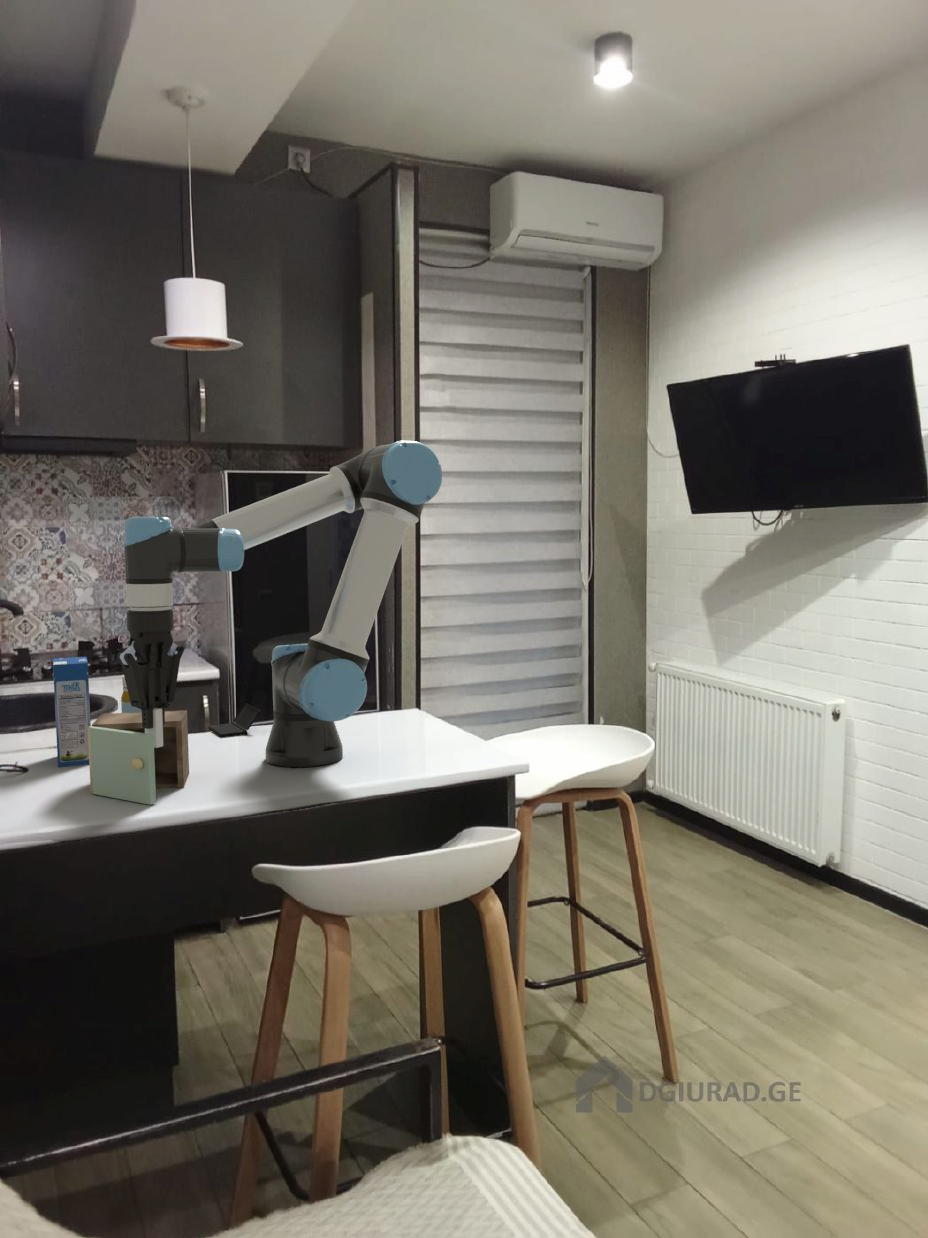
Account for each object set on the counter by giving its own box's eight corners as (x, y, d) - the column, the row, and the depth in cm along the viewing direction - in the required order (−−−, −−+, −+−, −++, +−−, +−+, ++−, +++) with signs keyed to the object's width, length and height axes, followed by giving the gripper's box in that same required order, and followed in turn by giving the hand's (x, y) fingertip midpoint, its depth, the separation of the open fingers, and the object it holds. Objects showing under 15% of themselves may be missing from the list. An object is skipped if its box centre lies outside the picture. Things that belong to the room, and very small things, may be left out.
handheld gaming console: (199, 723, 218) (225, 687, 220) (222, 738, 222) (248, 703, 224) (220, 739, 209) (247, 701, 211) (244, 754, 213) (270, 717, 216)
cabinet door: (156, 802, 160) (153, 734, 159) (144, 806, 158) (142, 737, 156) (94, 791, 167) (91, 726, 166) (83, 794, 165) (80, 728, 164)
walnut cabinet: (189, 773, 180) (186, 710, 178) (183, 787, 170) (181, 720, 169) (105, 777, 177) (102, 713, 176) (94, 792, 167) (91, 724, 166)
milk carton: (92, 763, 187) (87, 662, 186) (58, 767, 185) (52, 664, 183) (91, 753, 197) (86, 656, 195) (58, 756, 194) (53, 658, 192)
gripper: (163, 605, 169) (167, 736, 171) (103, 610, 157) (108, 751, 160) (194, 606, 165) (198, 741, 167) (135, 612, 154) (139, 756, 156)
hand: (154, 746), depth 163 cm, fingers closed
